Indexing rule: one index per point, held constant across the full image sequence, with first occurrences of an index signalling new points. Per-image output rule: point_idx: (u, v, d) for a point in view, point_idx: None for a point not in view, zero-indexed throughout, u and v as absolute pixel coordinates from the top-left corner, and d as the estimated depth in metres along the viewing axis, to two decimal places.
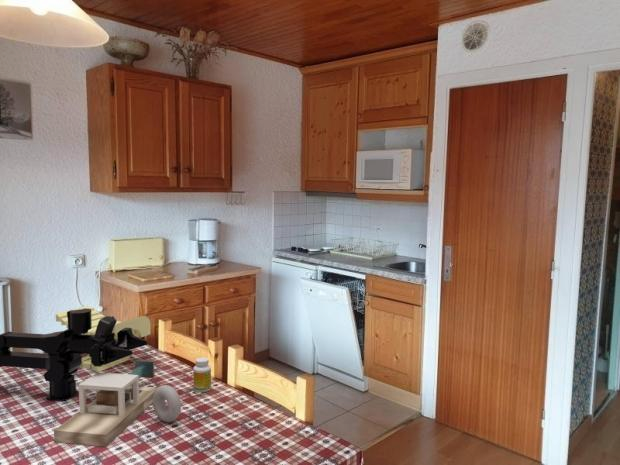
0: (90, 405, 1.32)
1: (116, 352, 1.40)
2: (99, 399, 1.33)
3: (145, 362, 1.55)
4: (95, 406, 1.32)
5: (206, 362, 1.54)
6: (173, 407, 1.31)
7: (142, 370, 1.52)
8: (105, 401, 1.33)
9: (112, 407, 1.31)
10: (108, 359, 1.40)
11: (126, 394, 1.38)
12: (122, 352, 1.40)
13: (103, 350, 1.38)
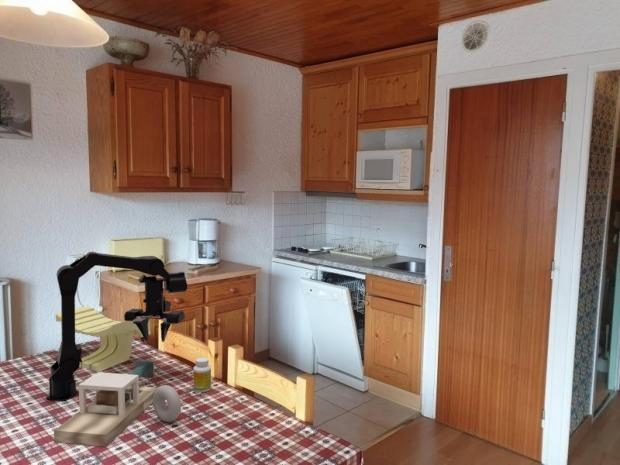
0: (90, 405, 1.32)
1: (166, 329, 1.62)
2: (99, 399, 1.33)
3: (145, 362, 1.55)
4: (95, 406, 1.32)
5: (206, 362, 1.54)
6: (173, 407, 1.31)
7: (142, 370, 1.52)
8: (105, 401, 1.33)
9: (112, 407, 1.31)
10: (166, 325, 1.60)
11: (126, 394, 1.38)
12: (166, 334, 1.62)
13: None
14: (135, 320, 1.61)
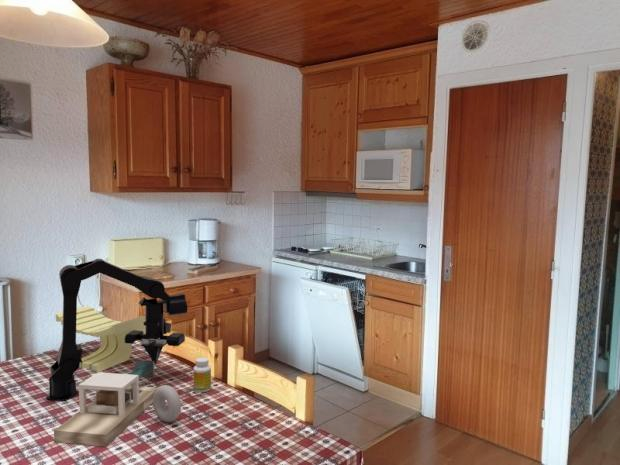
0: (90, 405, 1.32)
1: (159, 351, 1.63)
2: (99, 399, 1.33)
3: (145, 362, 1.55)
4: (95, 406, 1.32)
5: (206, 362, 1.54)
6: (173, 407, 1.31)
7: (142, 370, 1.52)
8: (105, 401, 1.33)
9: (112, 407, 1.31)
10: None
11: (126, 394, 1.38)
12: (158, 356, 1.63)
13: (167, 342, 1.63)
14: (143, 343, 1.61)
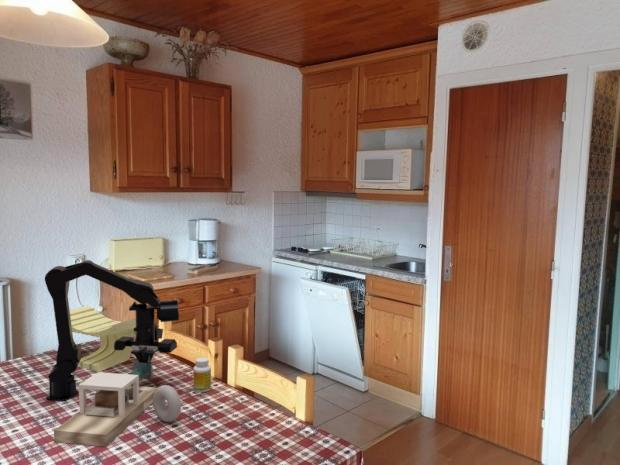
0: (87, 407, 1.31)
1: (150, 358, 1.56)
2: (98, 400, 1.33)
3: (143, 364, 1.54)
4: (92, 408, 1.31)
5: (206, 362, 1.54)
6: (173, 407, 1.31)
7: (140, 372, 1.51)
8: (104, 402, 1.32)
9: (109, 409, 1.30)
10: None
11: None
12: None
13: (158, 349, 1.57)
14: (133, 350, 1.54)
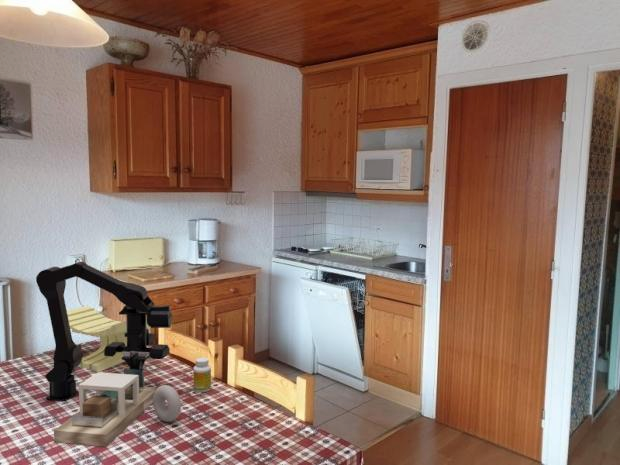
0: (74, 417, 1.25)
1: (142, 364, 1.51)
2: (86, 409, 1.27)
3: (134, 370, 1.48)
4: (79, 418, 1.25)
5: (206, 362, 1.54)
6: (173, 407, 1.31)
7: None
8: (92, 412, 1.27)
9: (97, 419, 1.24)
10: None
11: (113, 405, 1.31)
12: None
13: None
14: (124, 356, 1.49)
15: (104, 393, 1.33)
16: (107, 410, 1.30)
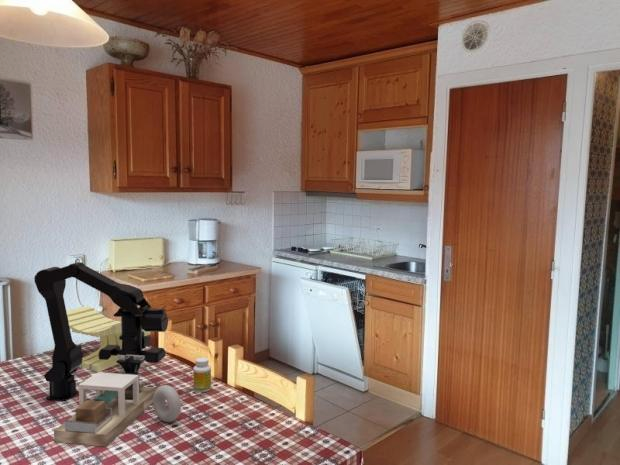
0: (67, 422, 1.22)
1: (137, 367, 1.48)
2: (79, 415, 1.24)
3: None
4: (72, 424, 1.22)
5: (206, 362, 1.54)
6: (173, 407, 1.31)
7: None
8: (85, 417, 1.24)
9: (90, 425, 1.21)
10: (136, 363, 1.46)
11: (107, 410, 1.29)
12: None
13: None
14: (119, 359, 1.46)
15: (98, 398, 1.30)
16: (101, 415, 1.27)
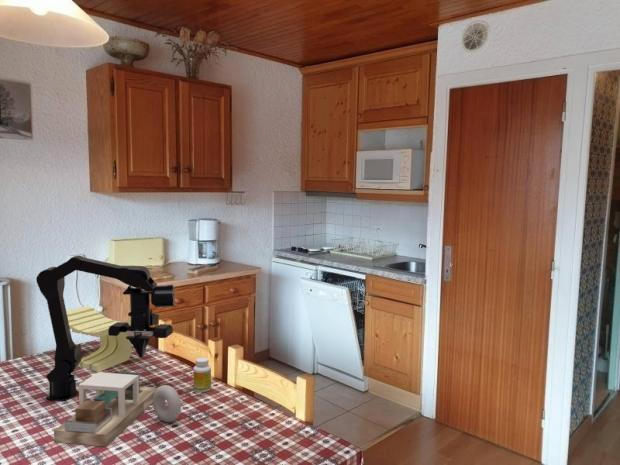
0: (66, 422, 1.22)
1: (145, 343, 1.53)
2: (79, 415, 1.24)
3: None
4: (72, 424, 1.22)
5: (206, 362, 1.54)
6: (173, 407, 1.31)
7: None
8: (85, 417, 1.24)
9: (90, 425, 1.21)
10: None
11: (107, 410, 1.29)
12: (145, 349, 1.53)
13: None
14: (128, 335, 1.51)
15: (98, 398, 1.30)
16: (101, 415, 1.27)
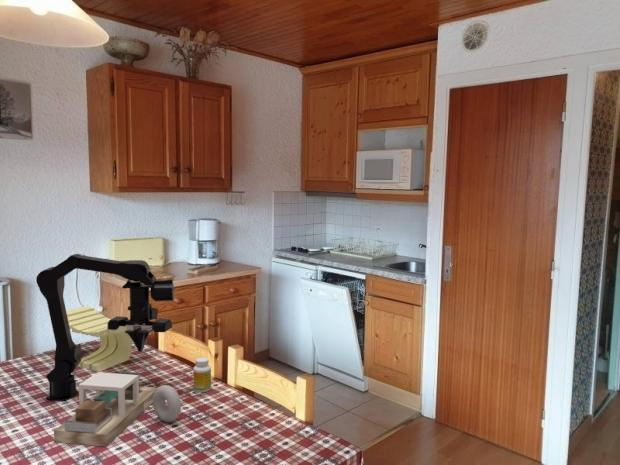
0: (66, 422, 1.22)
1: (144, 338, 1.52)
2: (79, 415, 1.24)
3: None
4: (72, 424, 1.22)
5: (206, 362, 1.54)
6: (173, 407, 1.31)
7: None
8: (85, 417, 1.24)
9: (90, 425, 1.21)
10: None
11: (107, 410, 1.29)
12: (144, 343, 1.53)
13: None
14: (127, 329, 1.50)
15: (98, 398, 1.30)
16: (101, 415, 1.27)
